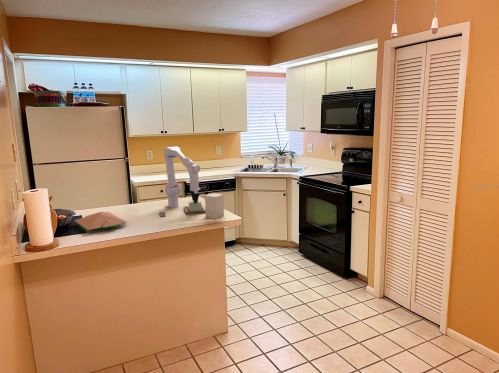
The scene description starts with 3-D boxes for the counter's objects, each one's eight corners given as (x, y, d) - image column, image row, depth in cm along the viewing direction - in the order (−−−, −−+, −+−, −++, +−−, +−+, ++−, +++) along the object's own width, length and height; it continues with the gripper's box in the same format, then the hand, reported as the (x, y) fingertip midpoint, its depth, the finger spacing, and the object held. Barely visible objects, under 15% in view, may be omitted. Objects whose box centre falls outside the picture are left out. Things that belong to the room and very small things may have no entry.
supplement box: (224, 216, 243) (224, 194, 240) (216, 219, 236) (215, 197, 233) (213, 214, 248) (213, 192, 245) (205, 217, 241) (204, 195, 238)
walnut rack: (183, 209, 261) (183, 206, 261) (202, 208, 265) (201, 205, 264) (186, 215, 246) (186, 212, 245) (205, 214, 249) (205, 211, 249)
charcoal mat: (159, 213, 253) (159, 212, 253) (180, 211, 256) (180, 210, 256) (160, 217, 243) (160, 216, 243) (181, 215, 247) (181, 214, 247)
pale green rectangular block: (189, 211, 252) (188, 202, 251) (200, 211, 254) (200, 201, 253) (189, 213, 248) (189, 203, 247) (201, 212, 250) (201, 202, 249)
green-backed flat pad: (90, 236, 207) (88, 222, 205) (72, 223, 231) (71, 211, 230) (129, 228, 221) (128, 215, 220) (109, 216, 246) (108, 205, 244)
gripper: (201, 183, 241) (202, 203, 244) (198, 180, 255) (199, 199, 258) (191, 184, 240) (191, 204, 242) (188, 180, 253) (189, 199, 256)
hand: (195, 201), depth 250 cm, fingers open, 7 cm apart
